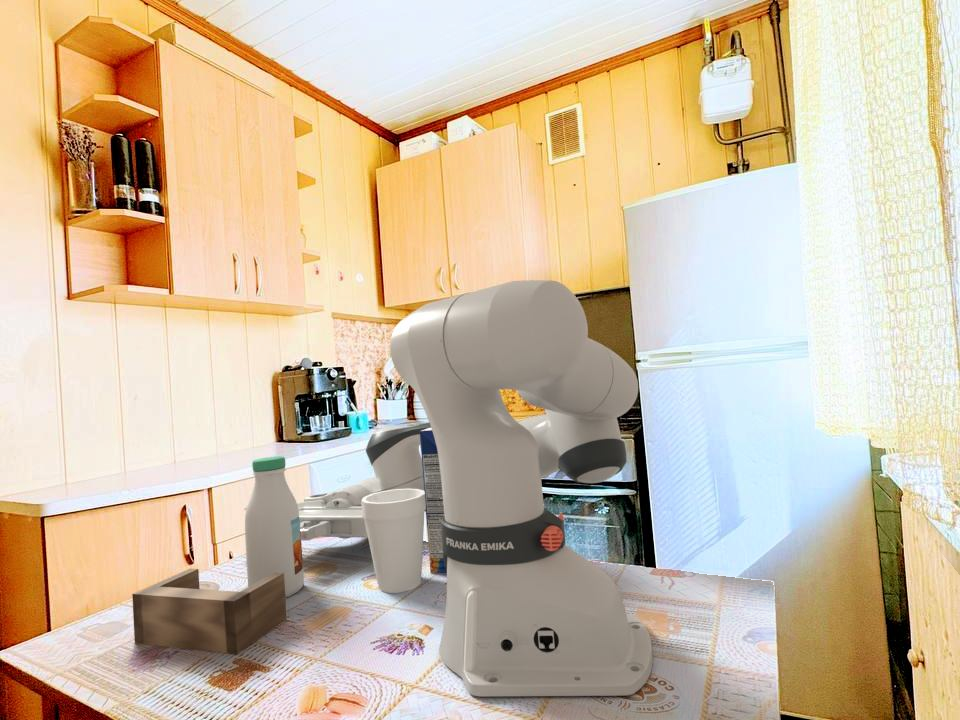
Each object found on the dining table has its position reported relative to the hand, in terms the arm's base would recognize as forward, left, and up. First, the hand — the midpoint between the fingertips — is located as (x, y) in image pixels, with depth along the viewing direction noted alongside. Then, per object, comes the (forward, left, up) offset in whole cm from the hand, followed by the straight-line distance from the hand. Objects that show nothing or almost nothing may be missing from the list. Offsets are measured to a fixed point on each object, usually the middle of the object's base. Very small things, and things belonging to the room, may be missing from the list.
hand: (299, 535), depth 81 cm
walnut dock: (0, +18, -6) cm, 19 cm away
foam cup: (-18, +1, -7) cm, 19 cm away
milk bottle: (0, +6, -7) cm, 9 cm away
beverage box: (-24, -9, -7) cm, 27 cm away
